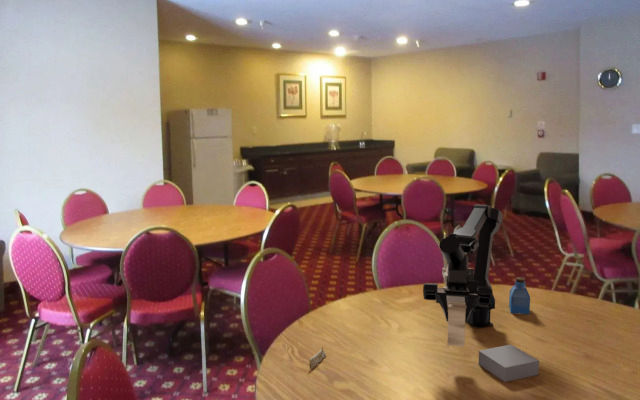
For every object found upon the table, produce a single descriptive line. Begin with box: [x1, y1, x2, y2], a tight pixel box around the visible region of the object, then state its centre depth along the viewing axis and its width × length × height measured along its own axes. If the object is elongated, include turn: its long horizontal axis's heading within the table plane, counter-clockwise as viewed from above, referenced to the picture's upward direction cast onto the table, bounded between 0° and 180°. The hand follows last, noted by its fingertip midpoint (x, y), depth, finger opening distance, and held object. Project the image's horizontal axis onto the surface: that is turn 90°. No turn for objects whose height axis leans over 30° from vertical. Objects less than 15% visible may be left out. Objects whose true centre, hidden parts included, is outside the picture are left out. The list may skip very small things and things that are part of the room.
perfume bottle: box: [508, 276, 531, 315], centre depth 186 cm, size 6×6×12 cm
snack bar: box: [308, 346, 327, 371], centre depth 149 cm, size 10×2×3 cm, turn 154°
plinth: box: [478, 344, 540, 383], centre depth 143 cm, size 11×11×4 cm
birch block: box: [447, 301, 466, 348], centre depth 144 cm, size 4×4×11 cm
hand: (456, 321), depth 143 cm, fingers closed on birch block, 4 cm apart
